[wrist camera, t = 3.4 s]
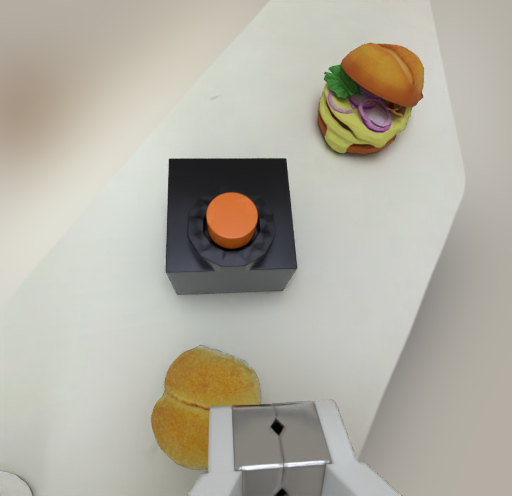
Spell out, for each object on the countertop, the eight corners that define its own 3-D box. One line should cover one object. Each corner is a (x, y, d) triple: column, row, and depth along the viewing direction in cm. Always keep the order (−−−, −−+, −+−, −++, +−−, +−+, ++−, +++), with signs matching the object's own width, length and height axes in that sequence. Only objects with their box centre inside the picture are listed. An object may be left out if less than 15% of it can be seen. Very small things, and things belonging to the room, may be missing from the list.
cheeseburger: (291, 127, 42) (323, 40, 34) (336, 92, 48) (373, 10, 39) (365, 178, 40) (419, 100, 32) (402, 135, 46) (456, 59, 38)
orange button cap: (256, 248, 27) (259, 237, 25) (207, 249, 27) (206, 239, 25) (254, 204, 29) (256, 191, 27) (207, 205, 28) (205, 192, 26)
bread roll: (141, 448, 30) (129, 456, 26) (182, 339, 33) (176, 333, 29) (239, 481, 29) (241, 494, 26) (270, 368, 33) (276, 365, 29)
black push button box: (283, 293, 35) (302, 264, 27) (176, 297, 34) (161, 268, 26) (275, 197, 39) (289, 145, 30) (178, 198, 38) (165, 145, 29)
